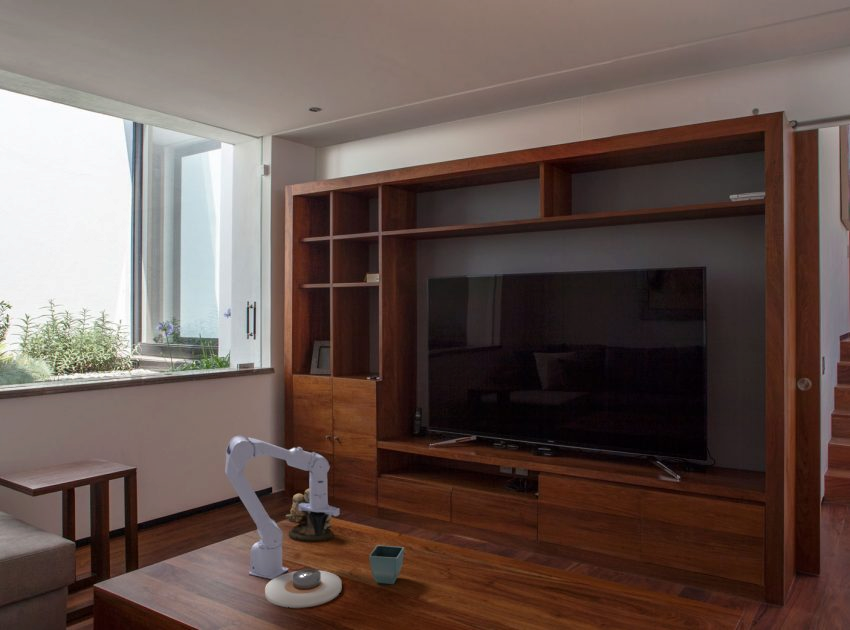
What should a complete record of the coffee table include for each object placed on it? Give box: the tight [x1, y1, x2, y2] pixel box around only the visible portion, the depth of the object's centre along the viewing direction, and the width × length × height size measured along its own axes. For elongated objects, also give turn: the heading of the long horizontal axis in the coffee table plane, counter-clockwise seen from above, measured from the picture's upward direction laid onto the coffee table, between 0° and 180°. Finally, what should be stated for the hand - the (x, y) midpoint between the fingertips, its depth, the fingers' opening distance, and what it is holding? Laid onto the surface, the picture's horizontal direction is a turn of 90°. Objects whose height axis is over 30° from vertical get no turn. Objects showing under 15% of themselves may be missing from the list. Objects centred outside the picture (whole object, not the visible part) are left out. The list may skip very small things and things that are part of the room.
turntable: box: [264, 569, 343, 609], centre depth 194 cm, size 22×22×2 cm
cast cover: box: [293, 568, 321, 590], centre depth 194 cm, size 8×8×3 cm
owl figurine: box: [285, 488, 335, 543], centre depth 239 cm, size 18×12×17 cm, turn 78°
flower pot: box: [369, 544, 405, 585], centre depth 200 cm, size 9×9×9 cm
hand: (319, 535), depth 213 cm, fingers closed
